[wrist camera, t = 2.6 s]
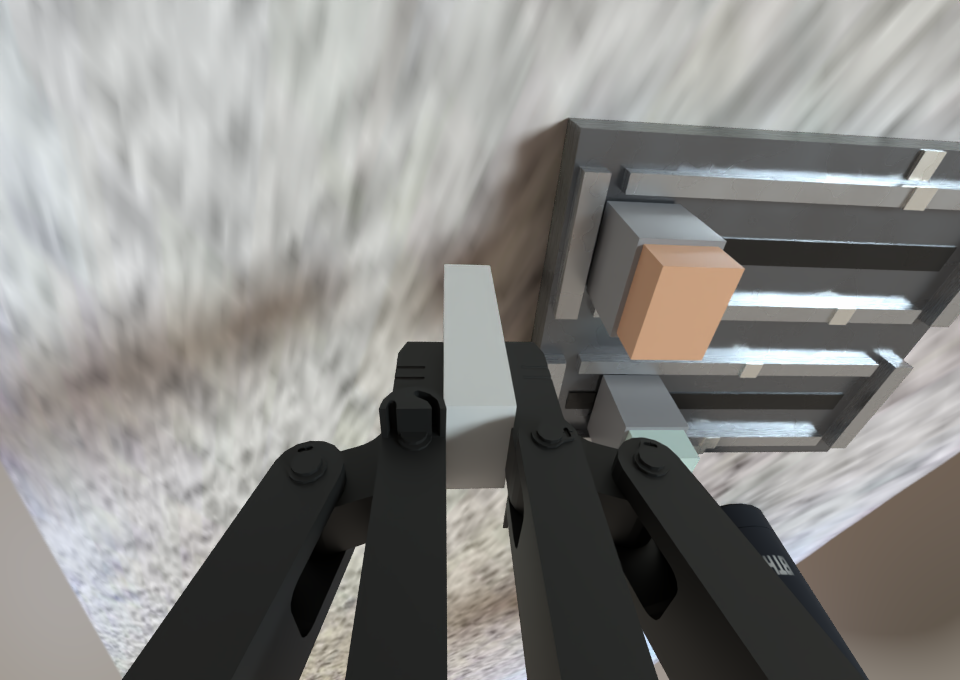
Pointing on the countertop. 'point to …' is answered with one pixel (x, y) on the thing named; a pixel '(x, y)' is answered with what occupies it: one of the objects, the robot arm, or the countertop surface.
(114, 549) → the countertop surface
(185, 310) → the countertop surface
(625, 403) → the knob
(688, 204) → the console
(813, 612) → the black water bottle
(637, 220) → the knob
